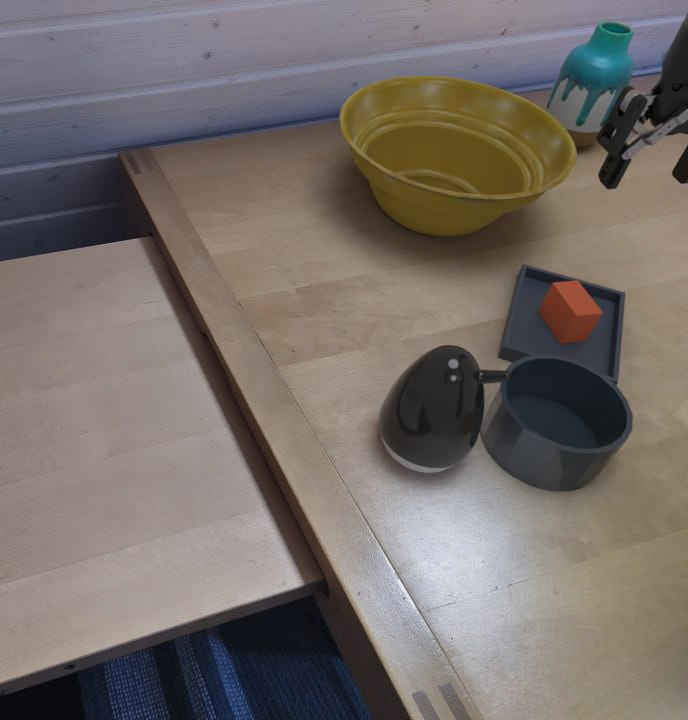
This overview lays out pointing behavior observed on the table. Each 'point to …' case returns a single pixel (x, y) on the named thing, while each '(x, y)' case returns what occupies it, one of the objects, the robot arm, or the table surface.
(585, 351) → the tray
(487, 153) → the planter bowl
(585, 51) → the vase
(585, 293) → the sponge
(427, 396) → the pump dispenser
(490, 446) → the crock
